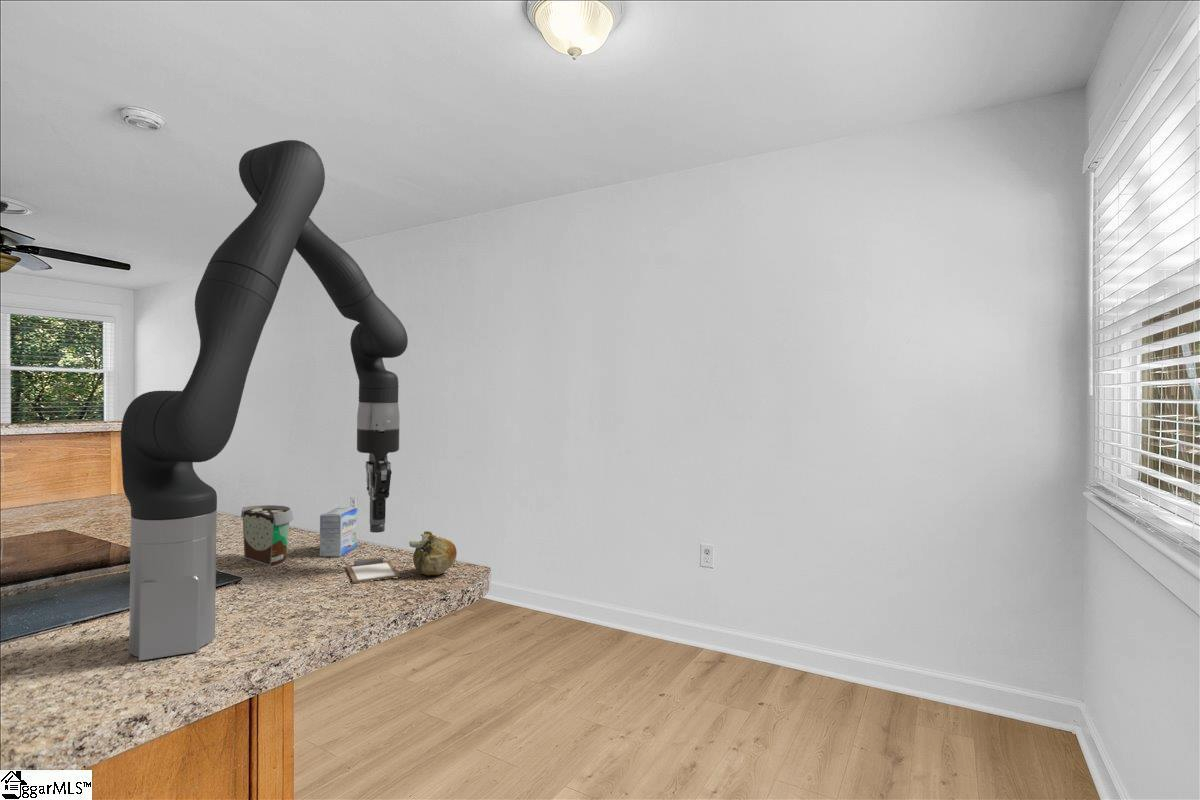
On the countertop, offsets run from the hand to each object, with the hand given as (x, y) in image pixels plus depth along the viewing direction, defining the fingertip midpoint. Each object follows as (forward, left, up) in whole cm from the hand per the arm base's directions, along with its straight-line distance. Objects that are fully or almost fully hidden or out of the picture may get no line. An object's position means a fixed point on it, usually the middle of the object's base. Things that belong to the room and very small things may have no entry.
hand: (377, 517), depth 114 cm
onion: (-8, -9, -10) cm, 15 cm away
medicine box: (+15, +5, -10) cm, 19 cm away
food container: (+15, +17, -10) cm, 25 cm away
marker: (0, 0, -3) cm, 3 cm away
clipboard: (-2, +1, -10) cm, 10 cm away
